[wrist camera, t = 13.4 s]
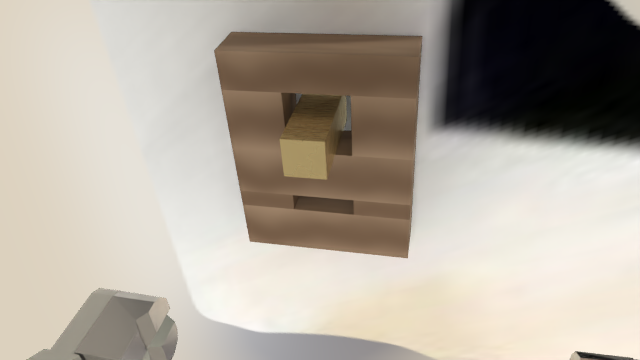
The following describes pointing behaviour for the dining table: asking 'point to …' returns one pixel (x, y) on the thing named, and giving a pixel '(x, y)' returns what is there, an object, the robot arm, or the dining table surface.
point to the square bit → (313, 135)
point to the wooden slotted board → (354, 147)
